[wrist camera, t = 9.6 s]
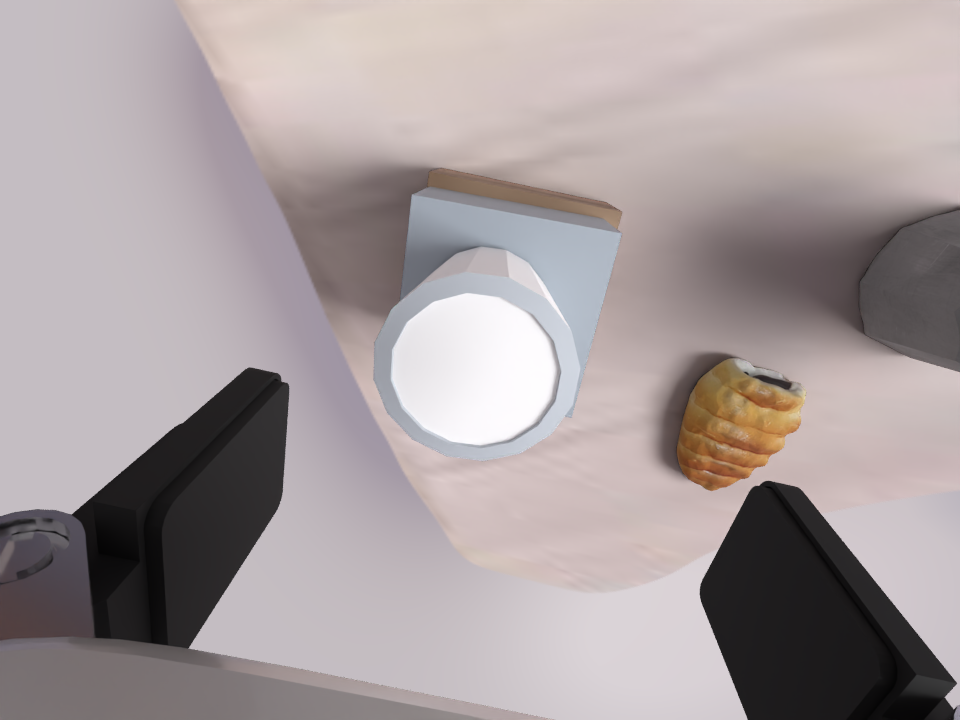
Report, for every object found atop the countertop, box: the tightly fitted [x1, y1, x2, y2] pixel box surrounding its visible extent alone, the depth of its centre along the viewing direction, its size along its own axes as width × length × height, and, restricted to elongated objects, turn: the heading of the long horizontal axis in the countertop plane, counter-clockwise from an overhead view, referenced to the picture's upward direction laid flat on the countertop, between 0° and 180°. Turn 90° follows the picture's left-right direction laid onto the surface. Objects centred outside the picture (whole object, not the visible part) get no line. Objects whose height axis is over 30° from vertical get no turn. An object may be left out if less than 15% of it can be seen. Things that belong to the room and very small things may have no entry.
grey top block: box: [400, 187, 622, 418], centre depth 26 cm, size 9×9×5 cm
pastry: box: [677, 358, 806, 491], centre depth 34 cm, size 9×7×4 cm
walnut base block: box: [427, 168, 622, 229], centre depth 30 cm, size 10×10×5 cm
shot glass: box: [374, 247, 580, 461], centre depth 20 cm, size 7×7×7 cm
